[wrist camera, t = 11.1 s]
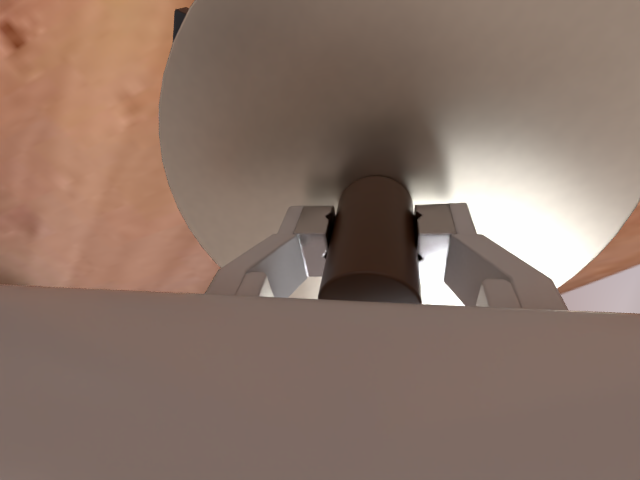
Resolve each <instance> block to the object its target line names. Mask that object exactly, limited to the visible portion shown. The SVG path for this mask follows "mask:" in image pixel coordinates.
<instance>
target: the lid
mask: <svg viewBox="0 0 640 480" xmlns="http://www.w3.org/2000/svg"><path fill="white" fill-rule="evenodd" d="M159 139H160V146H161V154H162V161H163V165H164V169H165V172H166V176H167V180H168V184H169V187H170V189H171V192H172V194H173V197H174V199H175V202H176V204H177V207H178V209H179V211H180V212H181V214H182V216H183V218H184V220H185V222H186V224H187V225H188V227H189V229H190V230H191V232H192V233H193V235H194V236H195V238H196V239H197V240H198V242H199V243H200V245H201V246H202V247H203V249H204V250H205V251H206V252H207V253H208V254H209V256H210V257H211V258H212V259H213V260H214V261H215V263H216V264H218V265H219V266H220V267H221V268H222V267H224V266H225V265H227V264H228V263H230V262H231V261H233V260H234V259H236V258H237V257H239V256H240V255H242V254H243V253H245V252H246V251H248V250H249V249H251V248H253V247H254V246H256V245H257V244H259V243H260V242H262V241H263V240H265V239H266V238H268V237H269V236H271V235H272V234H277V233H278V231H279V229H280V226H281V224H282V222H283V219H284V217H285V215H286V212H287V210H288V208H289V207H290V206H334V208H335V215H336V217H335V221H334V226H333V230H332V235H331V239H330V243H329V248H328V252H327V257H326V261H325V266H324V270H323V275H322V277H307V279H306V280H305V281H304V282H303V283H302V284H301V285H300V286H299V287H298V288H297V289H296V290H295V291H294V292H293V293H292V294H291V295H290V296H289V297H288V298H304V299H326V300H348V301H370V302H393V303H415V304H437V305H459V306H465V305H464V304H463V303H462V302H461V301H460V300H459V299H458V297H457V296H456V295H455V294H454V293H453V292H452V291H451V290H450V288H449V287H448V286H447V285H446V284H445V283H444V281H438V280H420V271H419V261H418V252H417V243H416V230H415V222H414V208H415V205H423V204H448V203H464V202H465V203H467V205H468V208H469V211H470V214H471V217H472V220H473V223H474V226H475V229H476V232H477V234H483V235H484V236H486V237H487V238H489V239H491V240H492V241H494V242H495V243H497V244H498V245H500V246H501V247H503V248H504V249H506V250H508V251H509V252H511V253H512V254H514V255H515V256H517V257H518V258H520V259H521V260H523V261H525V262H526V263H528V264H529V265H531V266H532V267H534V268H535V269H537V270H538V271H540V272H542V273H543V274H545V275H546V276H548V277H549V278H551V279H552V280H553V282H554V283H555V285H556V287H557V288H558V287H560V286H561V285H563V284H564V283H565V282H567V281H568V280H570V279H571V278H572V277H574V276H575V275H576V274H577V273H579V272H580V271H581V270H582V269H583V268H584V267H585V266H586V265H588V264H589V263H590V262H591V261H592V260H593V259H594V258H596V257H597V256H598V255H599V253H600V252H601V251H602V250H603V249H604V248H605V247H606V246H607V245H608V243H609V242H610V241H611V240H612V239H613V238H614V237H615V236H616V235H617V233H618V232H619V231H620V229H621V228H622V226H623V225H624V224H625V222H626V221H627V219H628V218H629V216H630V215H631V214H632V212H633V211H634V209H635V208H636V206H637V204H638V202H639V200H640V0H195V1H194V2H193V3H192V5H191V6H190V8H189V10H188V12H187V14H186V16H185V18H184V20H183V22H182V24H181V26H180V29H179V31H178V33H177V35H176V37H175V39H174V41H173V44H172V48H171V51H170V54H169V58H168V61H167V64H166V68H165V71H164V74H163V81H162V88H161V95H160V102H159Z"/></svg>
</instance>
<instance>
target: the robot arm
mask: <svg viewBox="0 0 640 480" xmlns="http://www.w3.org/2000/svg"><path fill="white" fill-rule="evenodd" d="M335 217H336V215H335V208H334V206H290V207H289V208H288V210H287V212H286V215H285V217H284V219H283V222H282V224H281V226H280V229H279V231H278V233H277V234H272V235H271V236H269V237H268V238H266V239H265V240H263V241H262V242H260V243H259V244H257V245H256V246H254V247H253V248H251V249H249V250H248V251H246V252H245V253H243V254H242V255H240V256H239V257H237V258H236V259H234V260H233V261H231V262H230V263H228V264H227V265H225V266H224V267H222V268H221V269H219V270H218V271H217V273H216V275H215V277H214V278H213V280H212V282H211V283H210V285H209V287H208V289H207V290H206V292H205V294H195V293H173V292H151V291H129V290H108V289H86V288H64V287H42V286H22V285H7V284H3V285H0V480H640V314H635V313H612V312H590V311H569V310H568V309H567V306H566V305H565V303H564V301H563V299H562V297H561V295H560V293H559V291H558V289H557V287H556V285H555V283H554V282H553V280H552V279H551V278H549V277H548V276H546V275H545V274H543V273H542V272H540V271H538V270H537V269H535V268H534V267H532V266H531V265H529V264H528V263H526V262H525V261H523V260H521V259H520V258H518V257H517V256H515V255H514V254H512V253H511V252H509V251H508V250H506V249H504V248H503V247H501V246H500V245H498V244H497V243H495V242H494V241H492V240H491V239H489V238H487V237H486V236H484V235H483V234H477V232H476V229H475V226H474V223H473V220H472V217H471V214H470V211H469V208H468V205H467V203H465V202H464V203H448V204H423V205H415V208H414V222H415V230H416V243H417V252H418V261H419V271H420V280H438V281H444V283H445V284H446V285H447V286H448V287H449V288H450V290H451V291H452V292H453V293H454V294H455V295H456V296H457V297H458V299H459V300H460V301H461V302H462V303H463V304H464V305H465V306H459V305H437V304H415V303H393V302H370V301H348V300H326V299H304V298H288V297H289V296H290V295H291V294H292V293H293V292H294V291H295V290H296V289H297V288H298V287H299V286H300V285H301V284H302V283H303V282H304V281H305V280H306V279H307V277H322V275H323V270H324V266H325V261H326V257H327V252H328V248H329V243H330V239H331V235H332V230H333V226H334V221H335Z"/></svg>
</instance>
